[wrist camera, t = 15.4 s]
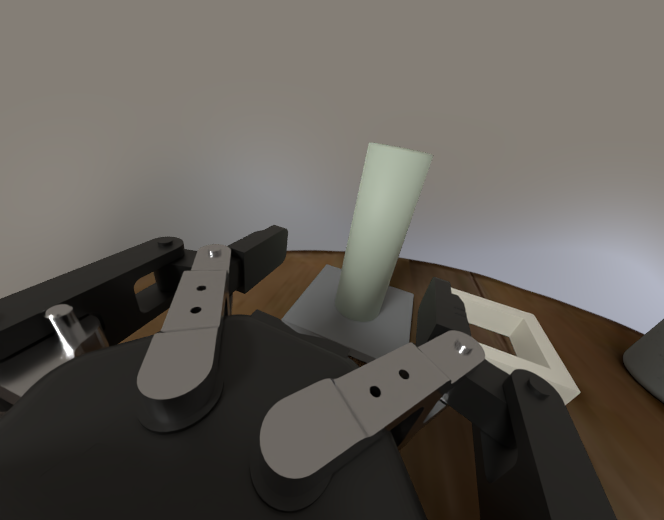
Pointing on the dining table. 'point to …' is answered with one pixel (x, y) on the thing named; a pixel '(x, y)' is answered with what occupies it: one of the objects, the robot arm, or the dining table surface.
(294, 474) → the robot arm
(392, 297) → the gray mat
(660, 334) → the water bottle
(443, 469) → the dining table surface
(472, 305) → the cream pocket
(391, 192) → the sage canister
